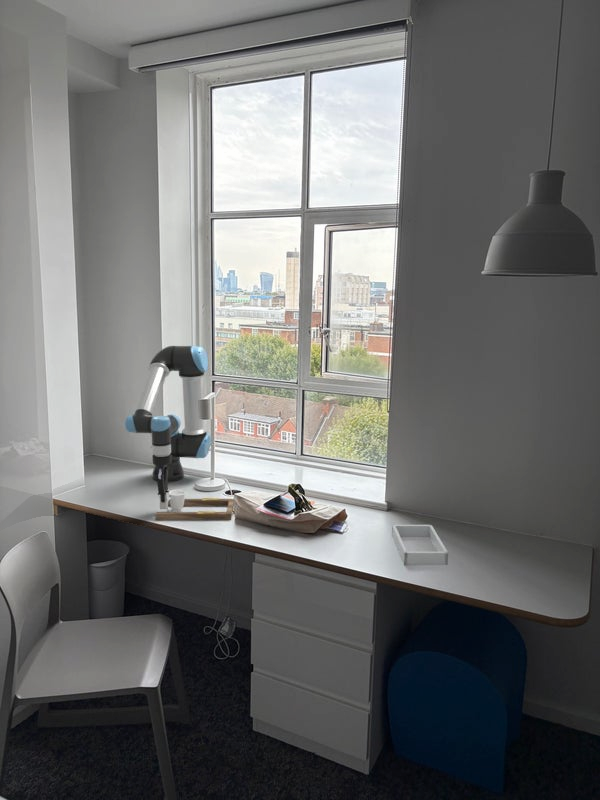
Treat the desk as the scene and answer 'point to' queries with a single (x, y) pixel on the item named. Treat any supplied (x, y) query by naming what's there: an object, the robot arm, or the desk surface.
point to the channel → (200, 514)
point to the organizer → (419, 557)
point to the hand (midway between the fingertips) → (163, 508)
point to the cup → (176, 500)
